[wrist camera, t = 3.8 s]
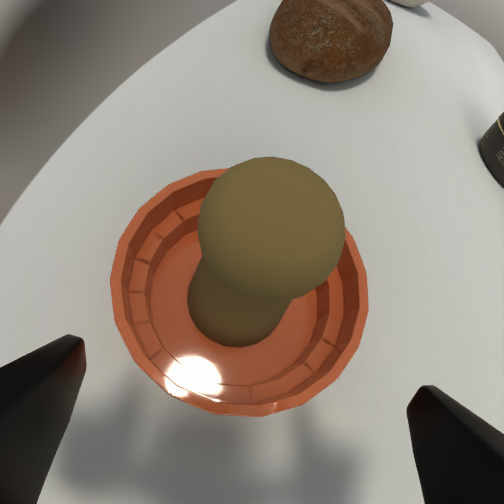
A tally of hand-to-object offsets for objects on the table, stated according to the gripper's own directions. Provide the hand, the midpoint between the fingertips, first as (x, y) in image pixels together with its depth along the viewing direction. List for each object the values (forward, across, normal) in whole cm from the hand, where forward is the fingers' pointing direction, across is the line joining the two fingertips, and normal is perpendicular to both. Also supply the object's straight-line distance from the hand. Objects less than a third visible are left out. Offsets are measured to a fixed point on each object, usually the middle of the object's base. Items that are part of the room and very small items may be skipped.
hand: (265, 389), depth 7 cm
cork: (+12, 0, +4) cm, 13 cm away
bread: (+42, -8, -25) cm, 49 cm away
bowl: (+12, 0, +4) cm, 13 cm away
